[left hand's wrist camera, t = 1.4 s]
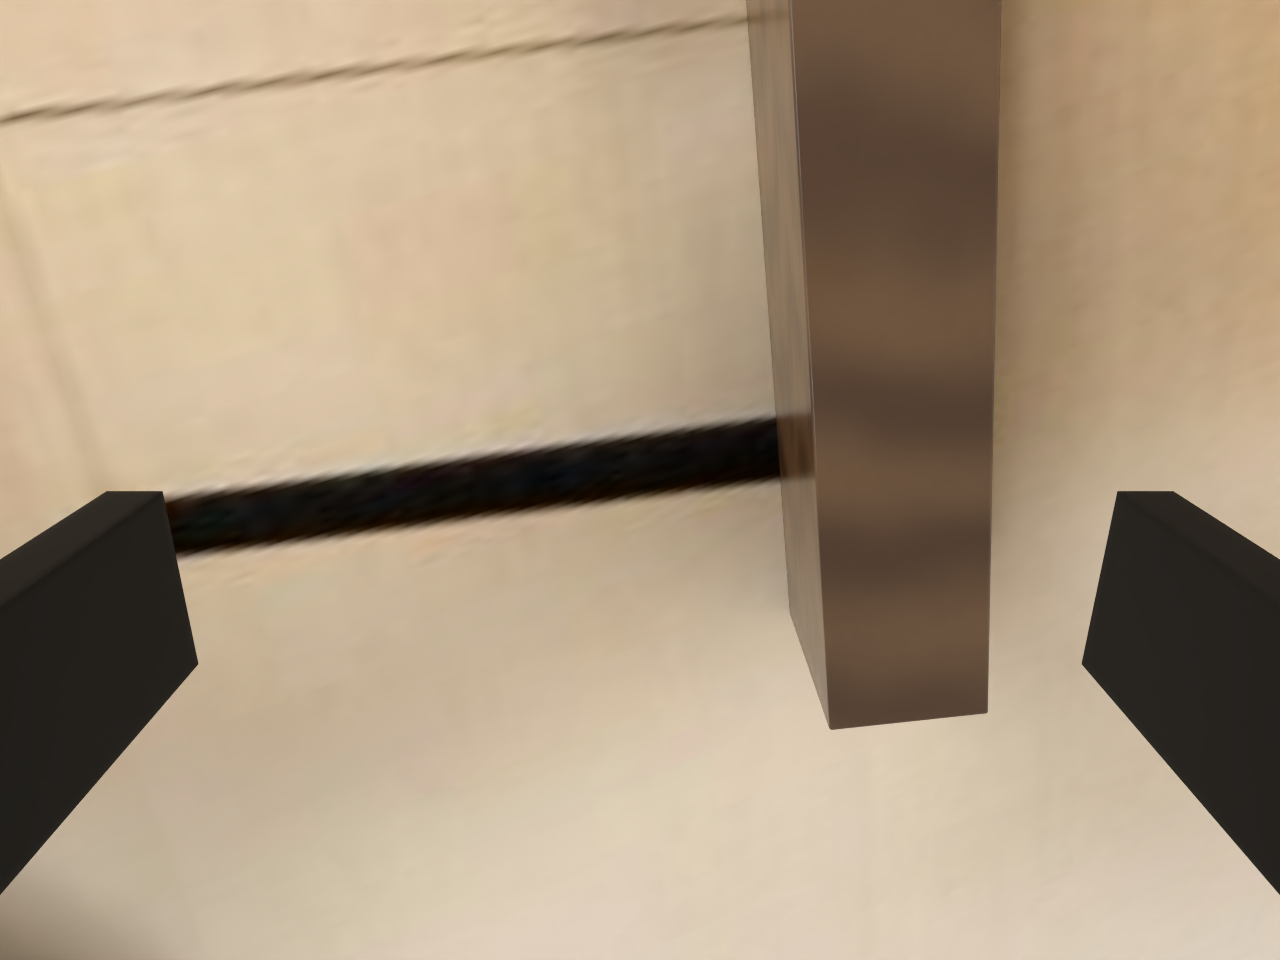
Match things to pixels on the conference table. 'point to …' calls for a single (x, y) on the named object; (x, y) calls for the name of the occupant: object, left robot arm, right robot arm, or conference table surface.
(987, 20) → the bar
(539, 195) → the conference table surface
